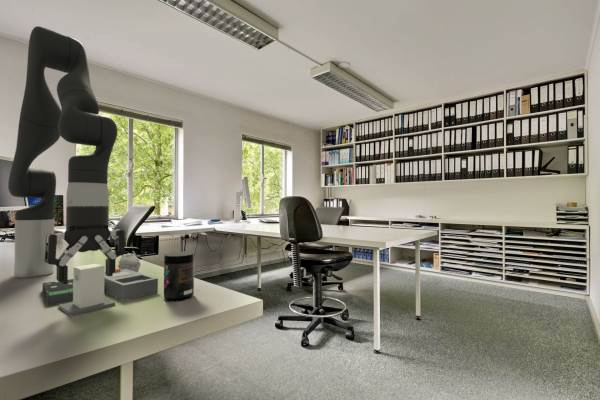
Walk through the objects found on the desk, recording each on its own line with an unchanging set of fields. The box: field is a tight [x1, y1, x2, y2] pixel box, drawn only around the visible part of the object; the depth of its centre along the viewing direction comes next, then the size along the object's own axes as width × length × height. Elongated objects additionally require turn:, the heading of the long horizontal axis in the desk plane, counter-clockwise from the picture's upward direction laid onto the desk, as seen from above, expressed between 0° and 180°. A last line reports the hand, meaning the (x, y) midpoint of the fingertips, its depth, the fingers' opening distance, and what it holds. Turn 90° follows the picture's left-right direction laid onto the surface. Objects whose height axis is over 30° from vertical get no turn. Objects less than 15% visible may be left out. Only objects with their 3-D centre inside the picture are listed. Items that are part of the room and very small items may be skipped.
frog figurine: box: [117, 253, 142, 273], centre depth 91 cm, size 6×7×7 cm
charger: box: [72, 263, 106, 308], centre depth 65 cm, size 4×4×8 cm
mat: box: [57, 296, 116, 317], centre depth 64 cm, size 8×8×1 cm
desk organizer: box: [104, 267, 159, 301], centre depth 79 cm, size 24×8×4 cm, turn 53°
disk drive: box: [42, 278, 73, 306], centre depth 74 cm, size 10×3×15 cm
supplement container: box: [163, 251, 195, 302], centre depth 71 cm, size 7×7×10 cm
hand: (87, 279), depth 65 cm, fingers open, 8 cm apart
